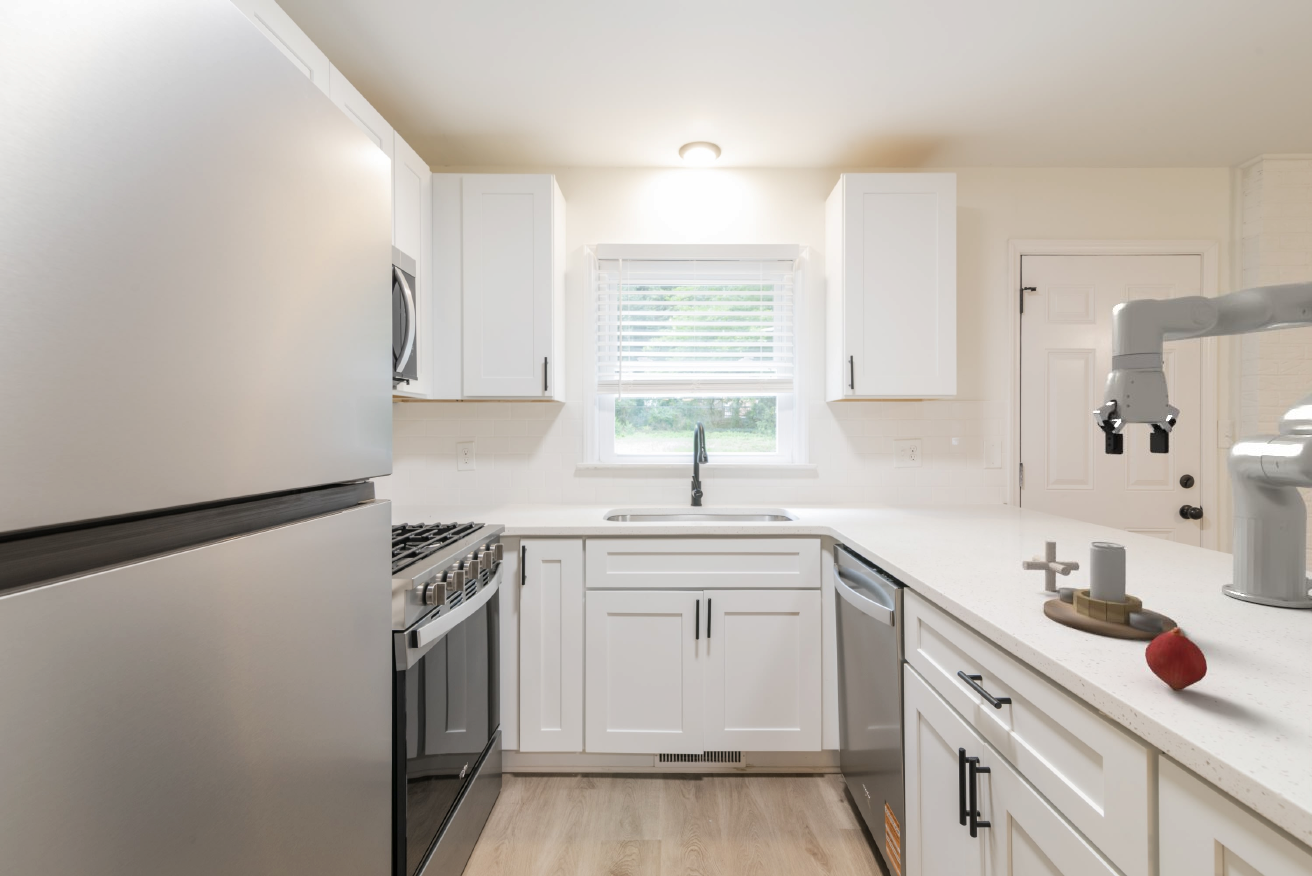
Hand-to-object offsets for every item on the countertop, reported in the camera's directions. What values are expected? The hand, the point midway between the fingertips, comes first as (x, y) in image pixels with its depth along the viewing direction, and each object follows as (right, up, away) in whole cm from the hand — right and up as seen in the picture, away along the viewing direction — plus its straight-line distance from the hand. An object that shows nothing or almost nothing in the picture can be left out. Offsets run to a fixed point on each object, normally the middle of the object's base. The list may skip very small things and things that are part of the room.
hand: (1136, 453), depth 110 cm
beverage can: (-15, -28, -12) cm, 34 cm away
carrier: (-15, -29, -12) cm, 35 cm away
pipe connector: (-12, -28, +6) cm, 32 cm away
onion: (-27, -29, -37) cm, 55 cm away
